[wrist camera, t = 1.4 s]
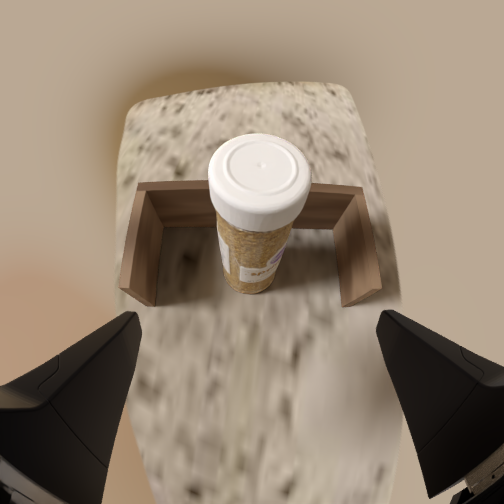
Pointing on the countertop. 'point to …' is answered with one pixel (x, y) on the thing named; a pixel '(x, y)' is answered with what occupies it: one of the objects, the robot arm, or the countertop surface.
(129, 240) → the walnut crate
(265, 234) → the sprinkles bottle
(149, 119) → the countertop surface
